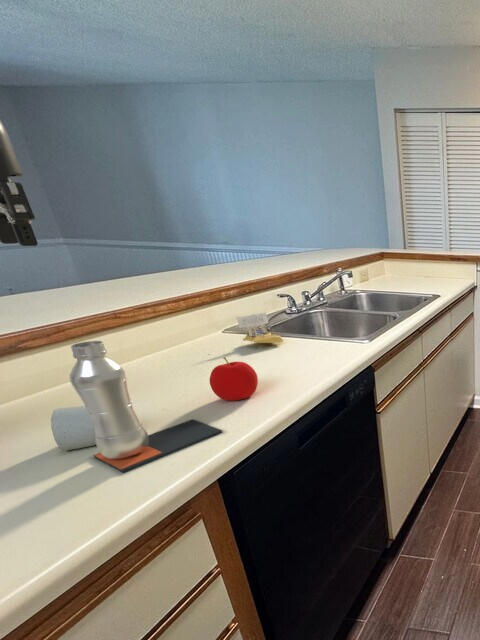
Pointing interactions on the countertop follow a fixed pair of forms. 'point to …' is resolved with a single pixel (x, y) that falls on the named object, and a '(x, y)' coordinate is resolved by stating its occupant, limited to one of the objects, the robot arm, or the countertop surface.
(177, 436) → the mat
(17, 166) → the robot arm
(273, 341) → the model sailing ship
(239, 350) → the countertop surface
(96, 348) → the plastic bottle
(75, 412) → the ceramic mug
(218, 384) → the fruit
